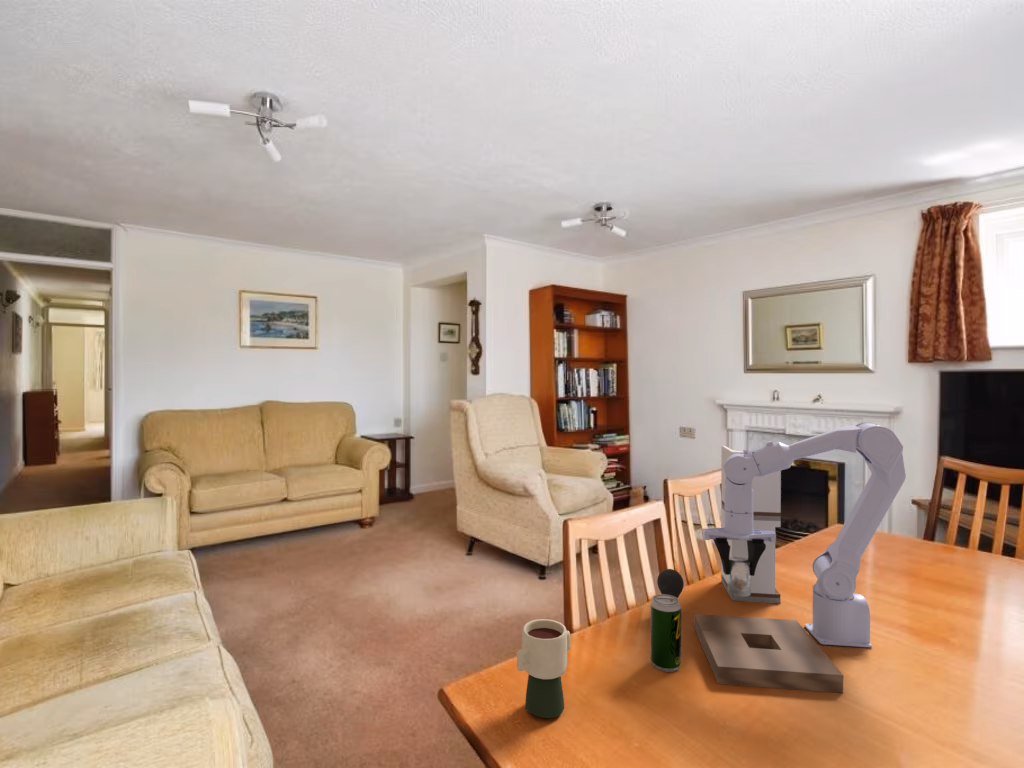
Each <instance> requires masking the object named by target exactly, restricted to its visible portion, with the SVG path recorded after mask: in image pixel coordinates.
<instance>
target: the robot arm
mask: <svg viewBox="0 0 1024 768" xmlns="http://www.w3.org/2000/svg"><path fill="white" fill-rule="evenodd" d="M765 444H766V445H763V447H762V446H759V447H757V448H754V449H750V450H749V449H743V450H742V451H743V453H744V455H743V454H733V455H731V456H729V457H728V458H727V460H726V461H725V465H724V471H725V474H726V479H725V485H726V487H725V489H724V514H725V516H724V528H721V527H714V528H713V527H711V528H702V539H703V540H704V541H710V540H713V542H714V544H715V547H716V549H717V553H718V555H719V558H720V561H722V565H723V572H724V573H725V574H726V575H729V553H730V545H729V544H728V541H727V540H747V547H748V559H749V560H750V575H751V576H754V574H755V570H756V566H757V563H758V561H759V559H760V557H761V555H762V553H763V552H764V551H765V548H766V544H765V543H764V541H770V542H775V543H777V533H776V531H775V532H773V531H766V530H758V529H753V489H752V479H753V478H754V476H758V477H760V476H761V475H762V476H764V475H767V474H771V473H774V472H777V471H781V472H782V471H783V470H788V469H790V468H791V466H792V465H793V463H794V461H795V460H799V459H803V458H807V457H811V456H815V455H818V454H823V453H826V452H830V451H834V450H838V451H839V450H841V451H843V452H844V451H845V452H850V453H857V452H858V453H859V454H860V456H862V458H863V459H864V461H865V463H866V465H867V466H868V469H869V471H870V473H871V475H870V477H869V478H868V480H867V482H866V484H865V486H864V487H863V489H862V491H861V493H860V494H859V497H858V498H857V500H856V502H855V503H854V505H853V507H852V508H851V511H850V513H849V514H848V516H847V518H846V519H845V521H844V524H842V527H841V529H840V530H839V532H838V534H837V536H836V538H835V540H834V541H833V542H831V543H830V544H829V545H827V547H826V548H825V550H824V552H822V553H820V554H818V555H817V556H816V557H815V558H814V559H813V561H812V565H811V566H812V572H813V574H814V575H815V577H816V579H817V580H816V582H815V583H814V585H812V623H804V627H805V628H806V629H807V631H808V632H809V633H810V634H811V635H812V636H813V638H815V640H816V641H817V642H818V643H819V644H821V645H824V646H825V645H826V646H827V645H828V646H840V647H841V646H843V647H856V648H857V647H859V648H872V647H873V644H872V643H871V611H870V607H869V604H868V603H869V602H868V601H867V599H866V598H865V596H863V594H860V593H855V592H856V589H857V580H856V579H857V576H858V575H859V572H860V569H861V561H862V560H861V559H862V557H863V554H864V552H865V551H866V549H867V547H868V546H869V544H870V542H871V540H872V538H873V537H874V535H875V533H876V532H877V530H878V528H879V526H880V524H881V522H882V521H883V519H884V518H885V516H886V514H887V513H888V511H889V509H890V507H891V506H892V503H893V502H894V500H895V498H896V496H897V494H898V493H899V492H900V490H901V488H902V486H903V484H904V482H905V480H906V469H905V462H904V456H903V450H904V445H903V444H902V443H901V441H900V439H899V438H898V436H897V435H896V434H895V432H894V431H893V430H891V429H890V428H889V427H886V426H883V425H878V424H877V423H874V422H870V421H863V422H859V423H857V424H855V425H854V424H851V425H845V426H840V427H837V428H834V429H832V430H829V431H825V432H822V433H819V434H816V435H814V436H811V437H808V438H805V439H802V440H800V441H796V442H794V443H791V444H785V443H783V442H781V441H776V442H774V441H773V440H770V441H766V442H765Z"/></svg>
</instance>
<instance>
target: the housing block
mask: <svg viewBox="0 0 1024 768" xmlns="http://www.w3.org/2000/svg"><path fill="white" fill-rule="evenodd" d="M693 629H694V631H695V633H696V635H697V638H698V641H699V642H700V645H701V647H702V649H703V652H704V654H705V656H706V659H707V662H708V663H709V666H710V669H711V670H712V672H713V675H714V677H715V680H716V682H717V684H719V685H731V686H744V687H745V686H746V687H759V688H770V689H771V688H773V689H782V690H783V689H785V690H799V691H810V692H811V691H813V692H823V693H824V692H826V693H836V694H837V693H838V694H839V693H841V694H843V693H844V674H843V673H842V672H841V670H839V669H838V667H837V666H836V665H835V664H834V662H833V661H832V660H831V659H830V658H829V656H828V655H827V654H826V653H825V652H824V650H823V649H821V648H820V646H819V645H818V644H817V643H816V642H815V640H814V639H813V638H812V637H811V635H810V634H809V633H808V632H807V631H806V630H805V628H804V627H803V626H802V625H801V624H800V623H799V621H798V620H797V619H786V618H785V619H784V618H769V617H766V618H765V617H754V616H753V617H751V616H749V617H748V616H732V615H716V614H715V615H713V614H700V613H699V614H697V613H695V614H694V628H693Z"/></svg>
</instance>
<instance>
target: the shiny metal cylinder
mask: <svg viewBox="0 0 1024 768" xmlns="http://www.w3.org/2000/svg"><path fill="white" fill-rule="evenodd" d="M728 593H730V594H732V595H735V596H741V597H747V596H750V595H751V581H750V560H749V559H747V558H743V557H729V575H728V592H727V594H728Z"/></svg>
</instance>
